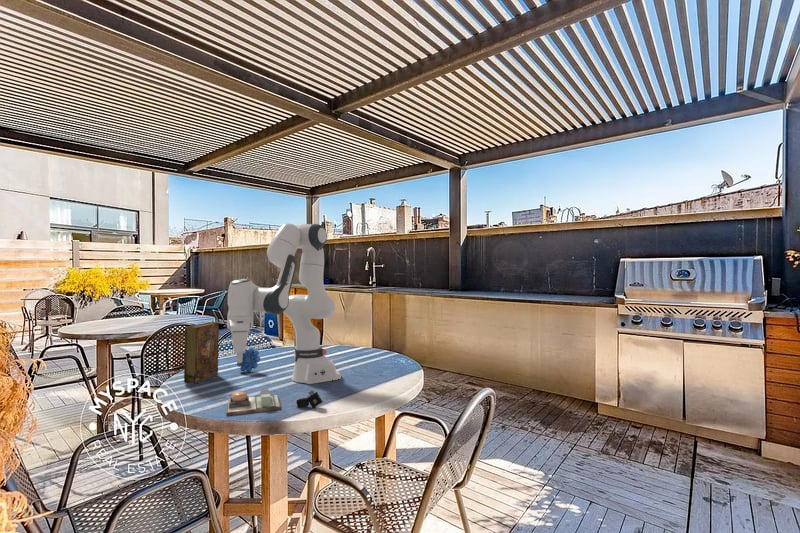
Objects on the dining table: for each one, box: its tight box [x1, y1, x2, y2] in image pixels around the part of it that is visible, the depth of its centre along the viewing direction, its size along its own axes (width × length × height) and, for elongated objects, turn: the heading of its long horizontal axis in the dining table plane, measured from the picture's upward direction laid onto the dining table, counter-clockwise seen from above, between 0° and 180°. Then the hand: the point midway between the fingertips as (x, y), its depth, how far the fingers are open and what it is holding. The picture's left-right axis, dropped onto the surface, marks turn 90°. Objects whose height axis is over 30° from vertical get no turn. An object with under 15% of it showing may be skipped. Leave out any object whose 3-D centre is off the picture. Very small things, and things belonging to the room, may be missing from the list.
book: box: [183, 321, 220, 385], centre depth 176 cm, size 16×6×25 cm, turn 168°
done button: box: [231, 391, 248, 402], centre depth 142 cm, size 5×5×2 cm
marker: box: [259, 388, 271, 406], centre depth 145 cm, size 3×10×3 cm, turn 22°
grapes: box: [236, 347, 261, 373], centre depth 190 cm, size 12×7×12 cm, turn 87°
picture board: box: [226, 393, 282, 416], centre depth 143 cm, size 18×14×3 cm
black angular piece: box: [295, 390, 324, 409], centre depth 142 cm, size 9×2×6 cm
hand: (239, 360), depth 142 cm, fingers open, 4 cm apart
